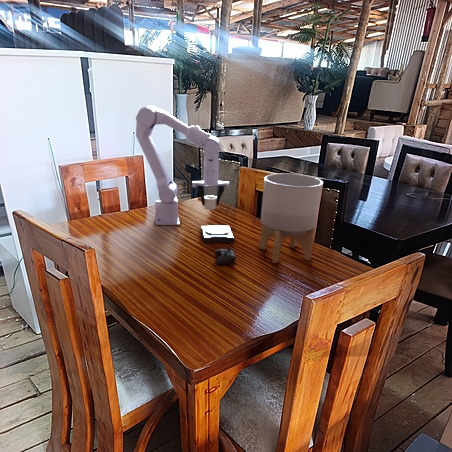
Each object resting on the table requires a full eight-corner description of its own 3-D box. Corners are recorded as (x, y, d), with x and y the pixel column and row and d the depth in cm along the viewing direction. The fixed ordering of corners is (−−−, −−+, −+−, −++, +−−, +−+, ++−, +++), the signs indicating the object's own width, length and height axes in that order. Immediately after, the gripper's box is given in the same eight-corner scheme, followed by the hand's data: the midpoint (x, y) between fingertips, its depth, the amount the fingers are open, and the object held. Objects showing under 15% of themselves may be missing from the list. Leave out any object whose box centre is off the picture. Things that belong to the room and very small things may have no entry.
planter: (300, 269, 131) (312, 190, 118) (248, 256, 138) (254, 180, 126) (317, 251, 145) (330, 179, 133) (270, 240, 153) (278, 170, 140)
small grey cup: (204, 210, 160) (204, 199, 157) (203, 206, 164) (203, 195, 162) (217, 210, 160) (217, 199, 158) (215, 206, 165) (215, 195, 163)
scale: (204, 242, 148) (204, 236, 147) (201, 230, 159) (201, 224, 158) (233, 242, 149) (233, 236, 148) (228, 230, 161) (228, 224, 159)
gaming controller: (213, 252, 138) (225, 240, 136) (223, 262, 140) (236, 251, 138) (214, 263, 129) (228, 251, 128) (225, 274, 132) (239, 262, 130)
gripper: (228, 168, 159) (226, 202, 166) (191, 168, 157) (191, 202, 164) (230, 172, 153) (229, 207, 160) (193, 171, 151) (193, 207, 158)
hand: (210, 204), depth 162 cm, fingers closed on small grey cup, 5 cm apart
